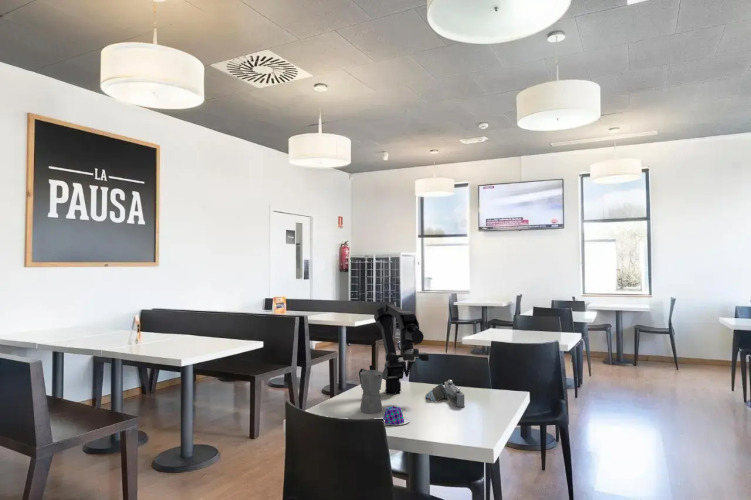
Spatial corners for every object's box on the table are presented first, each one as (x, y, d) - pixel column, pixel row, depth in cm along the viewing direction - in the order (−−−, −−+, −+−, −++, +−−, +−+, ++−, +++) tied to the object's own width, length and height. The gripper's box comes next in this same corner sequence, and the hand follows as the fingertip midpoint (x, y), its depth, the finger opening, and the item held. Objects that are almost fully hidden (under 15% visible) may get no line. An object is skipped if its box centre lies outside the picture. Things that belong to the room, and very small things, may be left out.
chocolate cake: (419, 397, 225) (424, 382, 217) (431, 391, 228) (437, 376, 220) (431, 414, 219) (437, 400, 211) (444, 408, 223) (450, 393, 215)
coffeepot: (390, 412, 197) (390, 366, 198) (370, 416, 192) (370, 369, 193) (369, 404, 210) (369, 361, 211) (349, 407, 205) (349, 363, 206)
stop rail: (457, 407, 205) (457, 391, 206) (444, 392, 231) (444, 378, 232) (464, 407, 206) (464, 390, 206) (451, 392, 232) (450, 378, 232)
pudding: (390, 415, 194) (390, 402, 194) (416, 421, 187) (416, 407, 187) (370, 423, 185) (370, 408, 185) (397, 429, 177) (397, 414, 178)
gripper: (387, 343, 211) (387, 381, 210) (430, 343, 212) (431, 380, 211) (384, 340, 222) (384, 375, 221) (426, 339, 223) (426, 375, 222)
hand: (406, 376), depth 219 cm, fingers closed
